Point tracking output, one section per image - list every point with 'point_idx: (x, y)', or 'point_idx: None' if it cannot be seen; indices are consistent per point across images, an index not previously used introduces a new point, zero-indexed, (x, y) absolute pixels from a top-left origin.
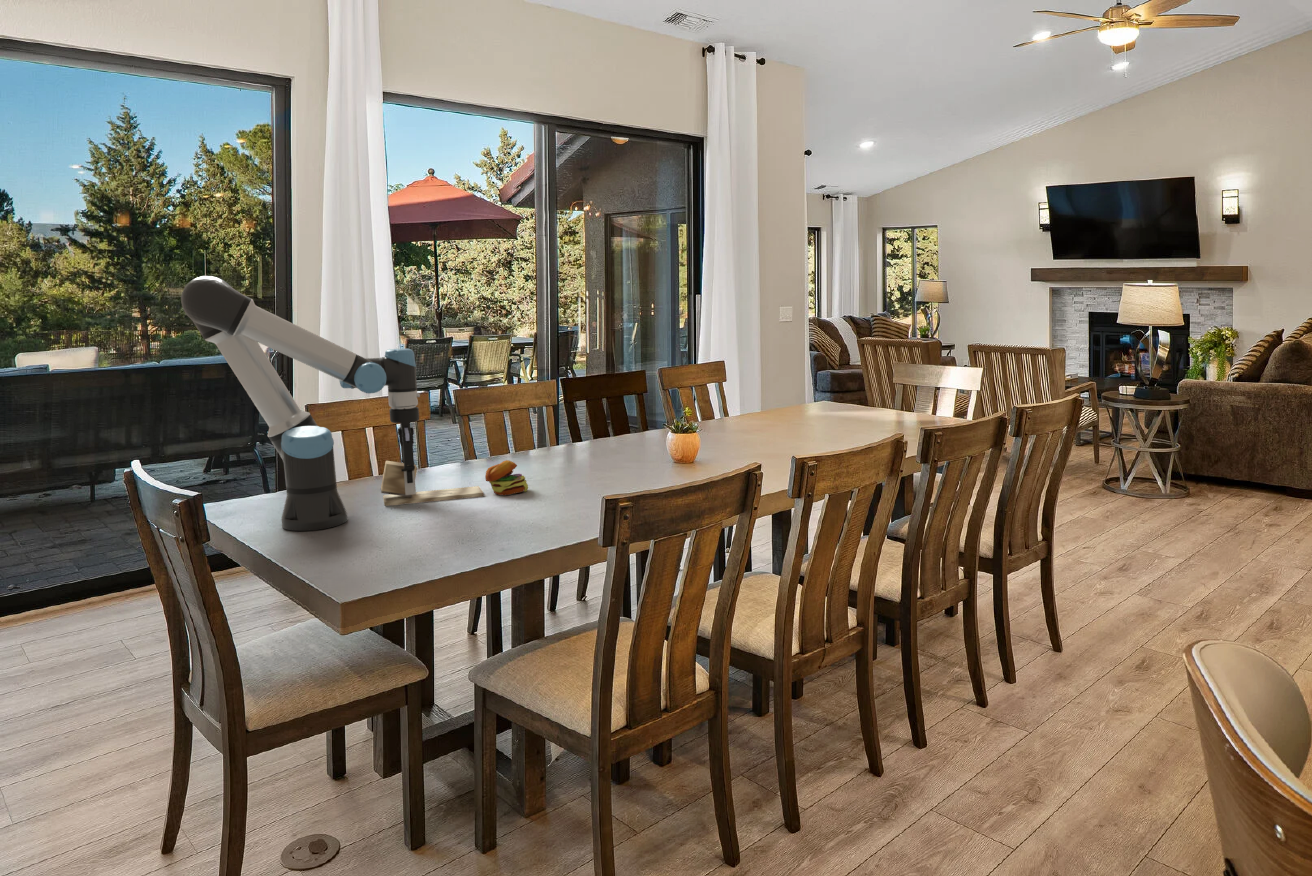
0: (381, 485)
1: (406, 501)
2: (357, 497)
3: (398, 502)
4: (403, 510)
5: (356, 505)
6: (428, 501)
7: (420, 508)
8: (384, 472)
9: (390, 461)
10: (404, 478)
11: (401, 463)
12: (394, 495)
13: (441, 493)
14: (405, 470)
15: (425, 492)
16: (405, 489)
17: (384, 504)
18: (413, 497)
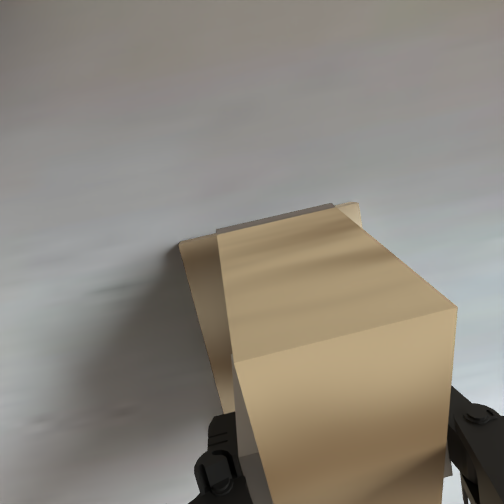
0: (319, 216)
1: (206, 347)
2: (427, 44)
3: (197, 310)
4: (68, 352)
5: (228, 77)
6: None
7: (99, 421)
8: (284, 281)
9: (434, 354)
10: (236, 415)
11: (408, 441)
12: None
13: None
14: (206, 487)
15: None
16: (232, 372)
17: (195, 238)
18: None
